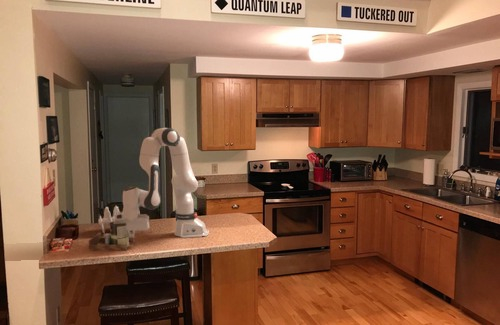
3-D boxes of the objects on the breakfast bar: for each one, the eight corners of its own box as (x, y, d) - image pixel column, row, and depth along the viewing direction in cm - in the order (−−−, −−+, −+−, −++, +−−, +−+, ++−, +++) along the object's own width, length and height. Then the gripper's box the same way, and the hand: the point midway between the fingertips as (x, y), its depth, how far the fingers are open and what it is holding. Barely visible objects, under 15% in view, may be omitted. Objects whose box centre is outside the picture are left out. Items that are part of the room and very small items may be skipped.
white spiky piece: (99, 238, 262) (138, 231, 273) (101, 233, 247) (142, 226, 258) (96, 211, 267) (134, 206, 278) (97, 204, 252) (137, 199, 263)
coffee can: (108, 249, 227) (107, 225, 226) (113, 243, 237) (112, 220, 236) (126, 248, 228) (125, 224, 226) (131, 243, 238) (130, 220, 237)
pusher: (114, 242, 238) (114, 231, 238) (107, 248, 226) (107, 237, 226) (108, 242, 238) (108, 231, 238) (101, 248, 226) (101, 237, 226)
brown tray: (134, 241, 241) (133, 232, 240) (126, 250, 225) (126, 240, 224) (99, 242, 240) (98, 232, 240) (89, 250, 224) (88, 240, 224)
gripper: (150, 212, 234) (150, 235, 235) (115, 213, 233) (116, 236, 235) (147, 215, 228) (148, 238, 229) (111, 215, 227) (112, 239, 229)
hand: (131, 237), depth 232 cm, fingers closed
